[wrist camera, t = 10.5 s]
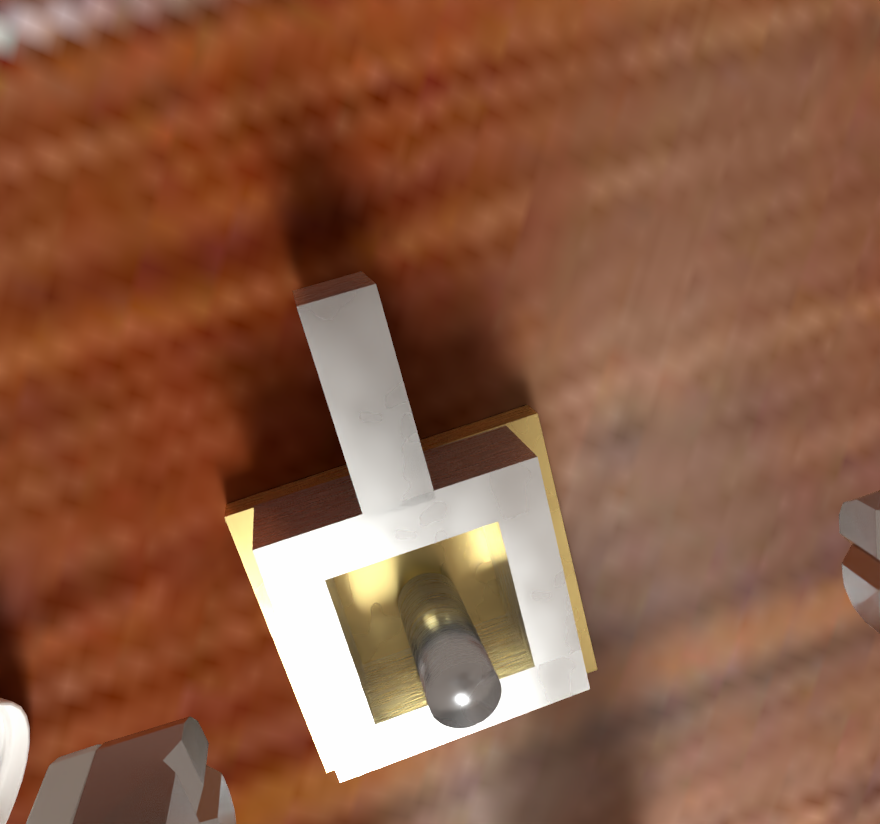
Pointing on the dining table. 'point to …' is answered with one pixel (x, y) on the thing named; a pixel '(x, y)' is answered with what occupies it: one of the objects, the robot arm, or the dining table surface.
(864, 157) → the dining table surface
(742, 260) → the dining table surface
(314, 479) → the post
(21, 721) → the spread jar
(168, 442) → the dining table surface
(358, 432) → the grey square frame handle
